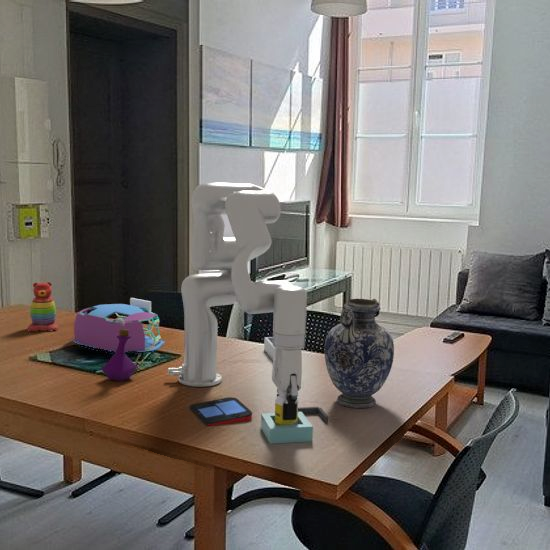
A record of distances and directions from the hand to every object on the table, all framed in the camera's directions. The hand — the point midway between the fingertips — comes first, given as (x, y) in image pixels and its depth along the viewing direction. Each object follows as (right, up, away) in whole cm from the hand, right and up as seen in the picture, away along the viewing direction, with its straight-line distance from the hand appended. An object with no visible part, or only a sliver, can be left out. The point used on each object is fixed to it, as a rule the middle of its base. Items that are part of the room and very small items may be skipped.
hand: (286, 414), depth 159 cm
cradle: (+6, -4, +11) cm, 13 cm away
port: (0, -5, +1) cm, 5 cm away
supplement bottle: (0, -4, +1) cm, 4 cm away
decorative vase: (+19, -2, +25) cm, 32 cm away
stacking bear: (-91, +12, +98) cm, 134 cm away
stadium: (-58, +8, +81) cm, 100 cm away
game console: (-16, -3, +13) cm, 21 cm away
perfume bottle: (-48, +2, +39) cm, 62 cm away
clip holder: (-1, +5, +70) cm, 71 cm away
